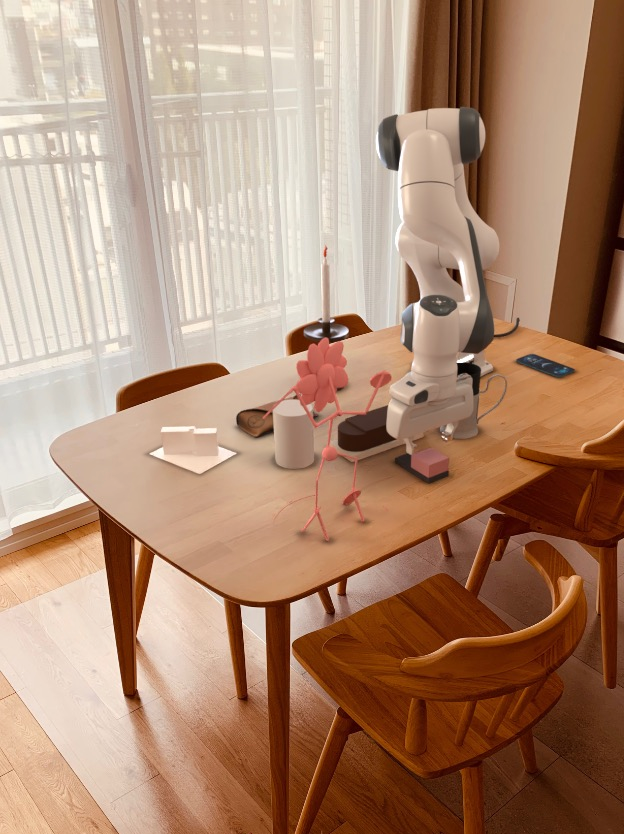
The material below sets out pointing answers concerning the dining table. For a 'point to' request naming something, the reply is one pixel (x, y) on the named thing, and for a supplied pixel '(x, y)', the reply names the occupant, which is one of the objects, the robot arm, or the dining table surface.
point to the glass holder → (469, 425)
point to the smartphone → (545, 365)
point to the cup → (293, 435)
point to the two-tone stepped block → (425, 464)
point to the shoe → (366, 435)
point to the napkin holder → (191, 448)
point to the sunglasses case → (259, 419)
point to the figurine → (321, 387)
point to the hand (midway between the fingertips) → (429, 446)
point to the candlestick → (326, 315)
